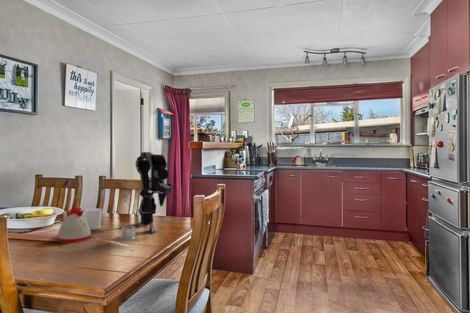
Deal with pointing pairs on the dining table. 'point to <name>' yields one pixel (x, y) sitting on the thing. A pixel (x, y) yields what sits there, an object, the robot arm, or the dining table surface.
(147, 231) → the stand
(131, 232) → the collar
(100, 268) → the dining table surface
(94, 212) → the white cup
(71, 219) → the chicken hat
